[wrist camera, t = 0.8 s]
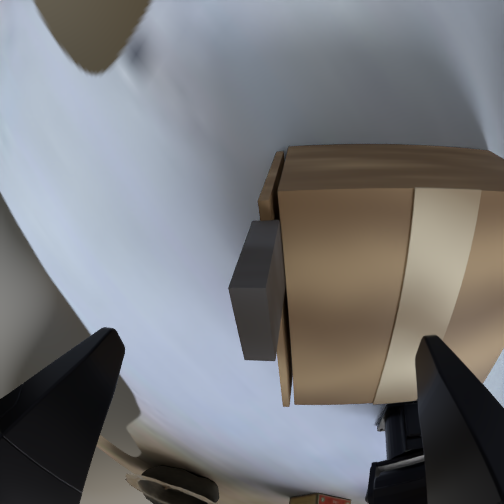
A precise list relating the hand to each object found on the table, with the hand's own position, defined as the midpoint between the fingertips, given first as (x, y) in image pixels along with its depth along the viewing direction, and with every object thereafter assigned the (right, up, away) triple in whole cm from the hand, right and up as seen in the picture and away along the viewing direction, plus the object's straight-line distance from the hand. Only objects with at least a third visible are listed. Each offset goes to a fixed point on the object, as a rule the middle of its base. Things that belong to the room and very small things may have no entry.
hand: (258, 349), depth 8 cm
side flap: (+2, +3, +13) cm, 13 cm away
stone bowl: (-16, -49, +49) cm, 71 cm away
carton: (+9, +3, +12) cm, 15 cm away
